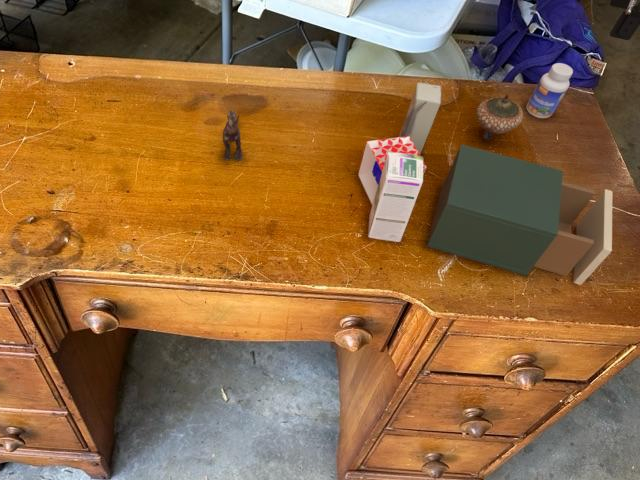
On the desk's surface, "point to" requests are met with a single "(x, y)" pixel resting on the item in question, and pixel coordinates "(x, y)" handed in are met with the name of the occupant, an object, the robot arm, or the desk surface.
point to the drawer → (580, 234)
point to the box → (421, 114)
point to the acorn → (499, 115)
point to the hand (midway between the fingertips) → (618, 21)
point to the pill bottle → (550, 91)
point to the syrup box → (395, 196)
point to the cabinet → (497, 210)
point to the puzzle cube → (381, 160)
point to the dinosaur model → (232, 136)
